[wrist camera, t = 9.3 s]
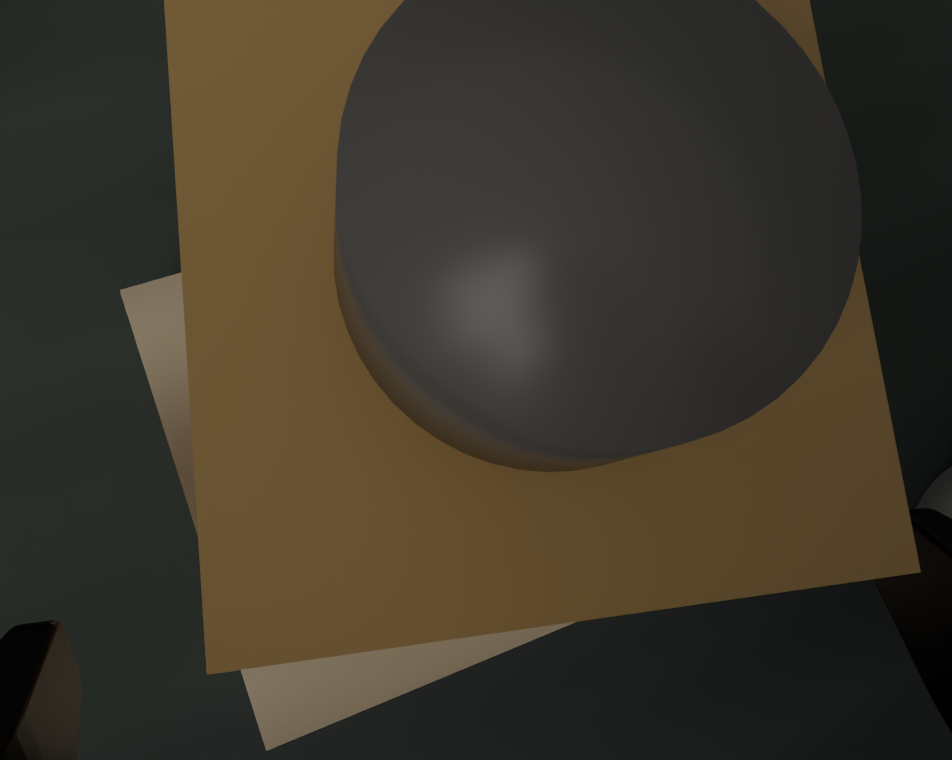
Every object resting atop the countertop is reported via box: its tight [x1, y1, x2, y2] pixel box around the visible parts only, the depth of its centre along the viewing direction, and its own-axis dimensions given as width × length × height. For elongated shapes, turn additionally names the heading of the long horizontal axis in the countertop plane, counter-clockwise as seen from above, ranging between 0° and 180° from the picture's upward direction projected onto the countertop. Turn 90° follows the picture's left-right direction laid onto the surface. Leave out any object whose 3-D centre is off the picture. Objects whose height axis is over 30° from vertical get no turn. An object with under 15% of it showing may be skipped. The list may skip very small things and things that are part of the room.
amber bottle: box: [164, 0, 921, 675], centre depth 11 cm, size 5×5×12 cm
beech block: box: [120, 273, 575, 751], centre depth 18 cm, size 9×9×3 cm
